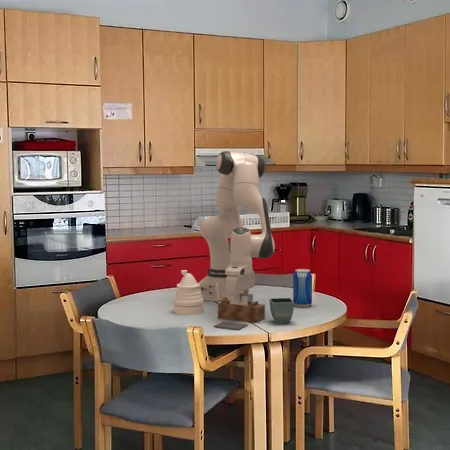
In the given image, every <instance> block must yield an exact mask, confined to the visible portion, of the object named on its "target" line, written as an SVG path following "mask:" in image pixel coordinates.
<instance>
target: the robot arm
mask: <svg viewBox="0 0 450 450" xmlns="http://www.w3.org/2000/svg"><path fill="white" fill-rule="evenodd" d="M215 165H216V170H217V171H218V173H220V174H221V176H220V178H219V183H218V187H217V191H216V192H217V193H216V196H215V203H216V204H217V206H218V209H219V213H218V215H215V216H209V217H207V218H205V219H203V220H202V222H201V223H200V226H199V232H200V234H201V236H202V237H203V238H204V239H205V241H206V243H207V245H208V248H209V254H210V267H209V268H207V269H205V273H207V275H206V276H205V277H204V278H202V279H201V280H200V281H199V282H197V283H198V284H200V287H199V289H200V291H201V295H202V298H203V301H210V302H218V301H219V302H220V301H221V302H222V298H223V297H227V298H228V300H230V295H231V294H233V295H234V297H235V303H240V302H241V299H240V297H239V295H240V293H244V294H249V292H250V290H249V289H251V288H254V287H255V286H256V285H255V284H256V278H255V277H256V276H255V271H254V269H253V259H252V258H258V259H269V258H271V257H272V256H273V255H274V254H275V249H276V247H275V240H274V237H273V235H272V234H273V233H272V227H271V220H270V215H269V214H270V213H269V207H268V202H267V201H266V198H265V197H263V196H262V195H261V192H260V178H261V177H263V175H264V174H265V171H266V161H265V159H264V157H262V156H260V155H254V154H251V153H246V152H236V151H228V150H227V151H225V150H224V151H221V152H220V153H219V154H218V156H217V158H216V164H215ZM240 206H241V207H243V208H244V209H247V210H250V211H252V212H255V213H256V214H257V215H258V216H259V220H260V221H259V222H260V226H261V228H260V229H261V233H260V234H252V233H251V230H250V229H249V228H247V227H244V222H243V219H242V218H241V216H240ZM228 239H229V241H228Z"/></svg>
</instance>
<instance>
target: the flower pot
mask: <svg viewBox="0 0 450 450" xmlns="http://www.w3.org/2000/svg"><path fill="white" fill-rule="evenodd" d="M268 302H269V308H270V313H271V316H272V319H273V320H274V322H275V323H276V324H289V323H290V321H291V320H292V317H293V314H294V307H295V305H294V301H293V298H291V297H281V298H280V297H278V298H274V297H273V298H269V301H268Z"/></svg>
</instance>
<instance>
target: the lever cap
mask: <svg viewBox="0 0 450 450" xmlns="http://www.w3.org/2000/svg"><path fill="white" fill-rule="evenodd" d="M253 295H254V294H252V293H251V294H250V293H248V294H244V293H243V292H240V295H239V297H240V299H241V302H240V303H235V297H234V295H233V294H231V295H230V305H240V306H249V304H251V303H253V302H254V299H253V298H254V296H253Z"/></svg>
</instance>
